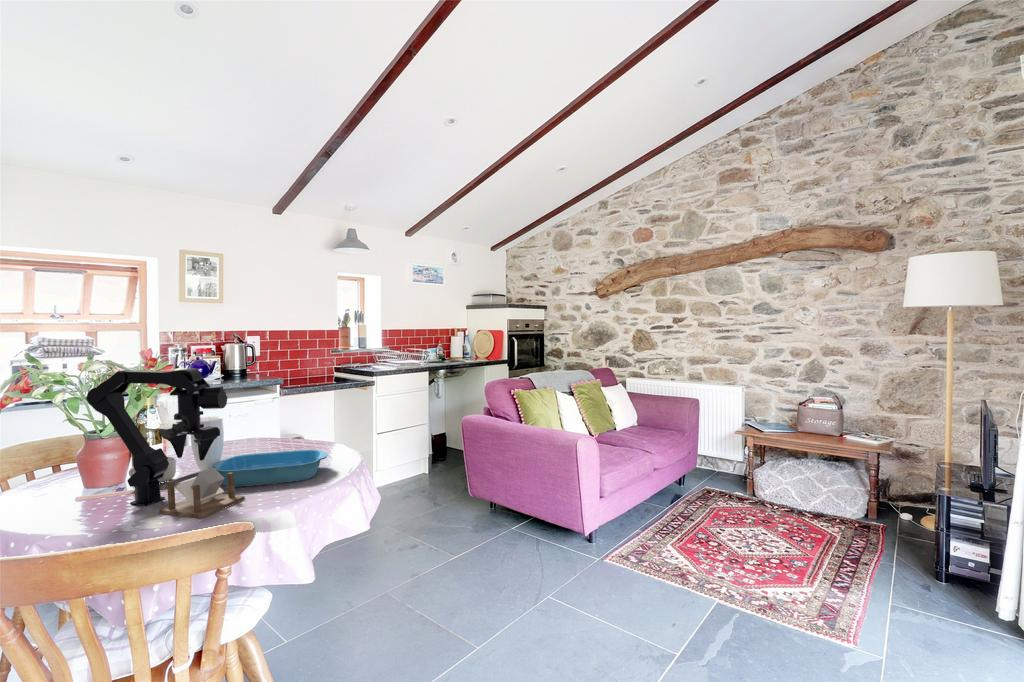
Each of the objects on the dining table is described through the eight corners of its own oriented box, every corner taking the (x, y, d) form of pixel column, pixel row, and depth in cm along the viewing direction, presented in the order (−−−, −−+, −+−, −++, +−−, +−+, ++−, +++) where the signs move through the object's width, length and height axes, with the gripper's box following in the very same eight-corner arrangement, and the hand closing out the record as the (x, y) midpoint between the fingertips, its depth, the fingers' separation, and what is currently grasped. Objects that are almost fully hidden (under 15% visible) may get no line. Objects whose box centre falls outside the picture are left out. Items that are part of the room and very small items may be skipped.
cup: (188, 480, 176) (185, 419, 175) (221, 473, 183) (219, 414, 182) (196, 486, 168) (192, 423, 167) (230, 479, 175) (227, 418, 174)
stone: (190, 487, 147) (199, 472, 146) (205, 482, 152) (213, 467, 151) (201, 498, 146) (210, 483, 145) (215, 493, 151) (224, 478, 150)
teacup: (171, 475, 181) (170, 454, 181) (182, 481, 174) (180, 458, 174) (124, 486, 170) (122, 463, 170) (133, 492, 164) (132, 468, 163)
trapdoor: (175, 487, 145) (177, 484, 145) (205, 477, 155) (207, 474, 155) (193, 506, 144) (194, 502, 144) (222, 494, 153) (224, 491, 153)
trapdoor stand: (159, 513, 144) (157, 482, 144) (204, 495, 159) (203, 467, 158) (202, 518, 140) (200, 486, 139) (244, 499, 154) (243, 470, 154)
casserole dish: (330, 464, 192) (330, 445, 192) (325, 481, 170) (324, 461, 170) (224, 474, 182) (223, 455, 182) (204, 494, 161) (202, 472, 160)
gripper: (141, 412, 150) (143, 463, 150) (187, 415, 144) (188, 468, 144) (176, 406, 160) (178, 454, 161) (220, 408, 154) (222, 458, 155)
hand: (190, 459), depth 155 cm, fingers open, 9 cm apart
